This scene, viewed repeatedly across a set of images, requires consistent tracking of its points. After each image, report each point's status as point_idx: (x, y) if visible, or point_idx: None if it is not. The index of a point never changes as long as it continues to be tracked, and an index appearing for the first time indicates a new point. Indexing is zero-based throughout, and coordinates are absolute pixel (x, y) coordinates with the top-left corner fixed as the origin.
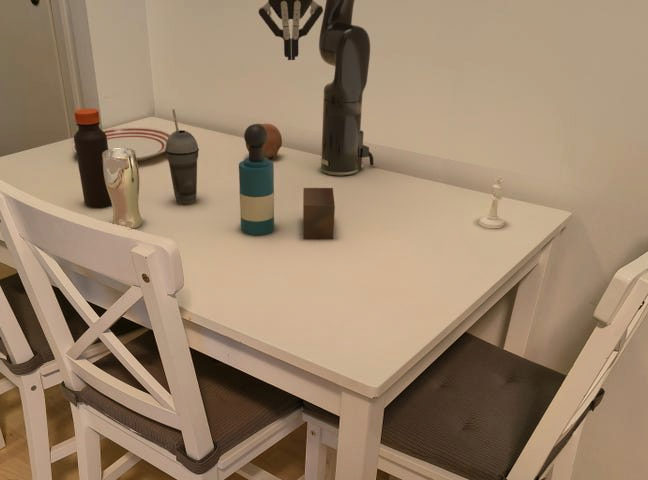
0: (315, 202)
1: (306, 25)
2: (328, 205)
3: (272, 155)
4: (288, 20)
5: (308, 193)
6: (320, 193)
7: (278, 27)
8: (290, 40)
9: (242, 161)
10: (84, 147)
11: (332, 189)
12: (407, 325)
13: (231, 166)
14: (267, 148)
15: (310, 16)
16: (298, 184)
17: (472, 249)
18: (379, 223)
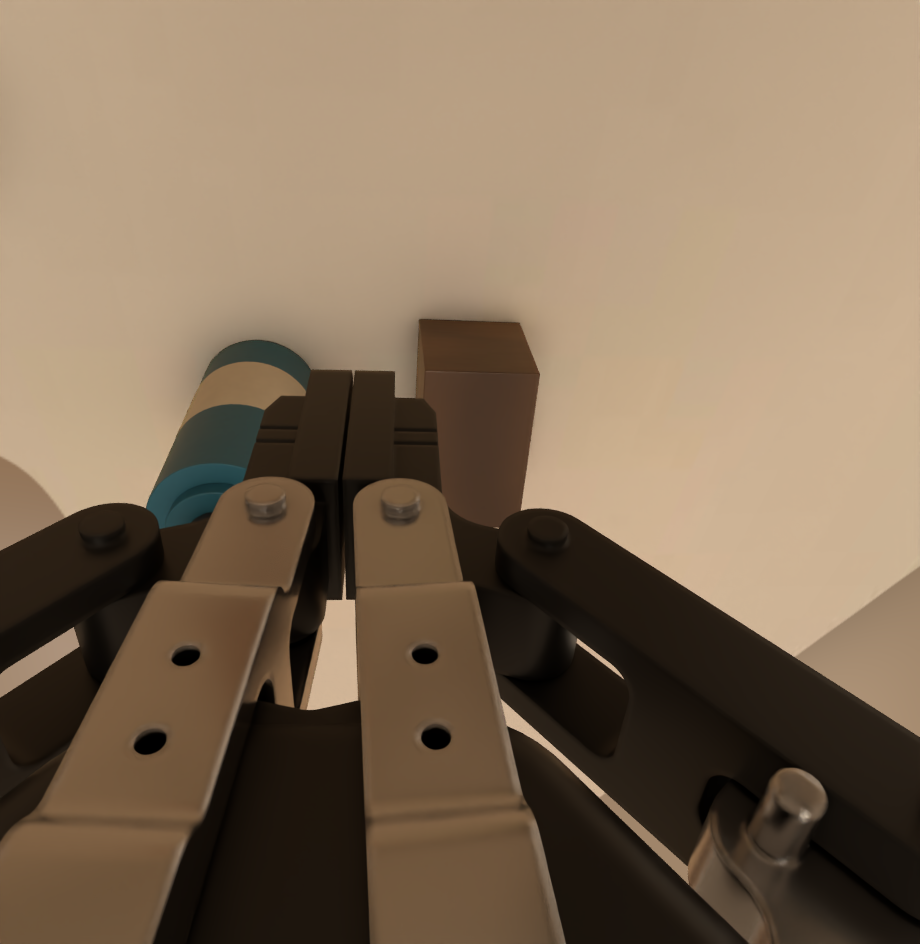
0: (457, 506)
1: (568, 742)
2: (497, 527)
3: None
4: (271, 686)
5: (439, 430)
6: (484, 429)
7: (108, 607)
8: (335, 597)
9: (154, 497)
10: None
11: (536, 391)
12: (575, 773)
13: None
14: None
15: (696, 740)
16: None
17: (852, 520)
18: (674, 352)
